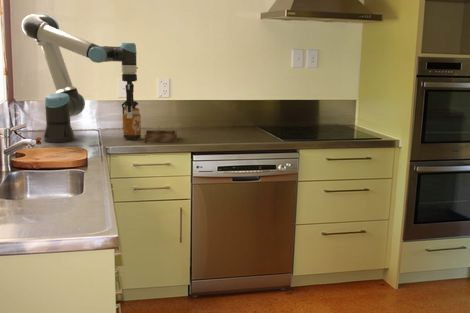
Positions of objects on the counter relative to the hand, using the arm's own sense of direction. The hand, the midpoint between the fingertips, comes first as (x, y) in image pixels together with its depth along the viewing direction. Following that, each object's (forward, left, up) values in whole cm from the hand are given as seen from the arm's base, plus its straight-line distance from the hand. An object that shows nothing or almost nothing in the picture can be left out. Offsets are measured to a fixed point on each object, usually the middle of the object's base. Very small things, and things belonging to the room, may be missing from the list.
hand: (130, 116), depth 284 cm
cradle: (+16, -4, -12) cm, 20 cm away
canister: (0, 0, -12) cm, 12 cm away
